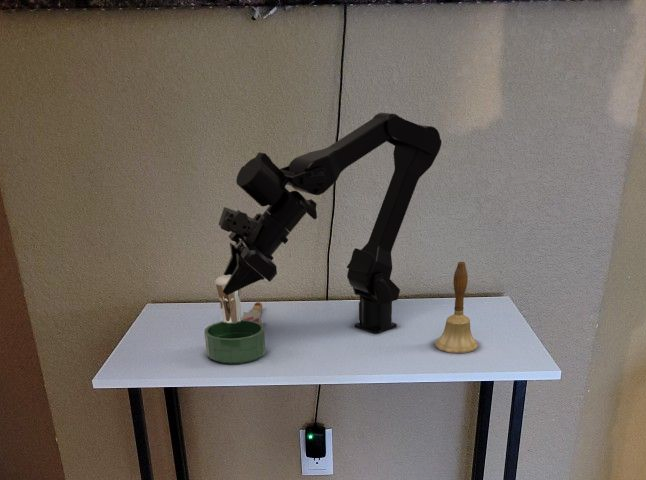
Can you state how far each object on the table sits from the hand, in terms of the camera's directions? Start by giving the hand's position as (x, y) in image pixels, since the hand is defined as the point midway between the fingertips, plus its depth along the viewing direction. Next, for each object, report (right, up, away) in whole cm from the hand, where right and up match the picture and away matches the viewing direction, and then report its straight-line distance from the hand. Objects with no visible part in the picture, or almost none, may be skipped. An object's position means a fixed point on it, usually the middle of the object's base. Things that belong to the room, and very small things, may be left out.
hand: (222, 289), depth 137 cm
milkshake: (+2, -5, +4) cm, 7 cm away
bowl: (+2, -11, +6) cm, 13 cm away
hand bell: (+44, -9, +8) cm, 46 cm away
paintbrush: (+3, -1, +22) cm, 22 cm away
